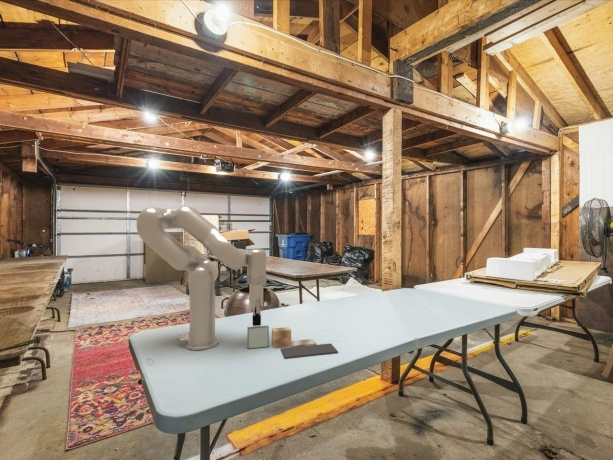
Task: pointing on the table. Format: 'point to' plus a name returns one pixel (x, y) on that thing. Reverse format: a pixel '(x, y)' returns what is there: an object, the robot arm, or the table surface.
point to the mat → (308, 351)
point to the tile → (257, 337)
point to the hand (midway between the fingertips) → (256, 325)
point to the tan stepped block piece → (287, 339)
